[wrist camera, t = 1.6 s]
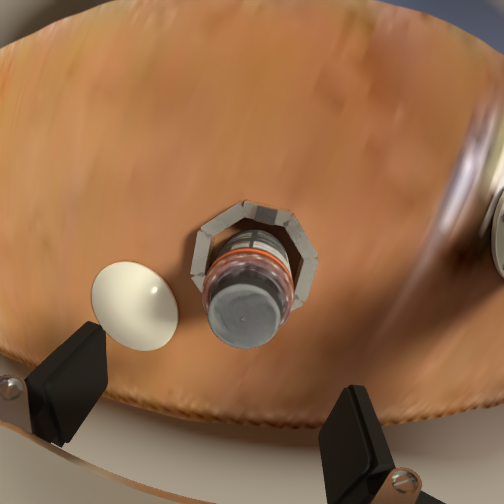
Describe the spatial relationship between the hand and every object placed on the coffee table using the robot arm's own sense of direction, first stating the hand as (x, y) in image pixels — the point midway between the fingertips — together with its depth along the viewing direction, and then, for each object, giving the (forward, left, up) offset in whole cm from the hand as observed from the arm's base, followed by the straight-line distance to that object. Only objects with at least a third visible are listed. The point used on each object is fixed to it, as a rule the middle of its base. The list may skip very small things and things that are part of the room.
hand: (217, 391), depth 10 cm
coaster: (+11, +8, -17) cm, 22 cm away
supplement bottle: (0, 0, -17) cm, 17 cm away
